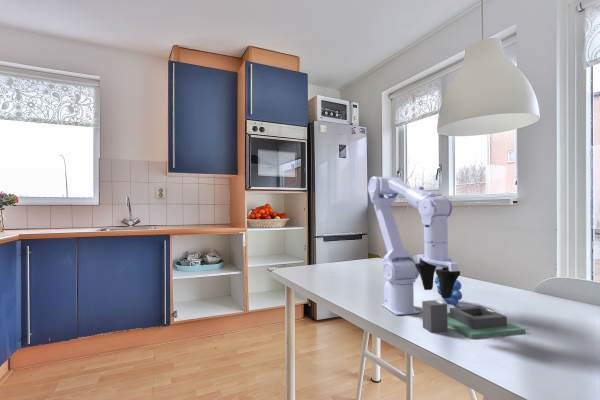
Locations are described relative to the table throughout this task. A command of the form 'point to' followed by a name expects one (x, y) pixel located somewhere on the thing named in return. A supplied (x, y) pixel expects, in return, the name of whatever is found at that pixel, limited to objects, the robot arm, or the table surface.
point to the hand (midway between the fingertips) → (436, 293)
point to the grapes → (455, 294)
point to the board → (484, 331)
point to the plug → (434, 316)
